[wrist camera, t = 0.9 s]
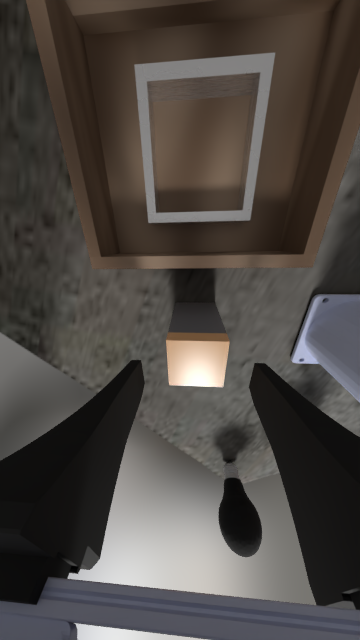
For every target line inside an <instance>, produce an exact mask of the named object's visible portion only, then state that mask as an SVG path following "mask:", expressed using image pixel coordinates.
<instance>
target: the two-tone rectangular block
mask: <svg viewBox="0 0 360 640" xmlns="http://www.w3.org/2000/svg"><path fill="white" fill-rule="evenodd" d="M229 343H230V341H229V339H228V336H227V333H226V331H225V328H224V325H223V323H222V320H221V317H220V315H219V312H218V309H217V307H216V304H215V303H183V302H176V303H175V307H174V311H173V315H172V319H171V323H170V327H169V331H168V335H167V339H166V344H167V359H168V375H169V385H180V386H206V387H223V385H224V378H225V371H226V364H227V357H228V350H229Z"/></svg>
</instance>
